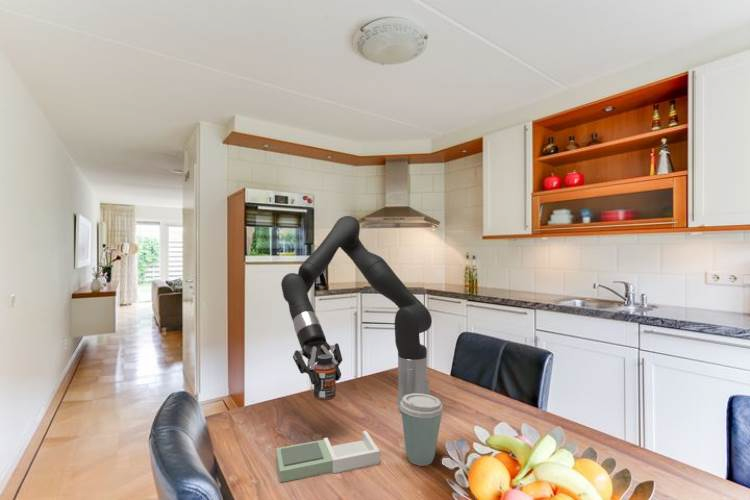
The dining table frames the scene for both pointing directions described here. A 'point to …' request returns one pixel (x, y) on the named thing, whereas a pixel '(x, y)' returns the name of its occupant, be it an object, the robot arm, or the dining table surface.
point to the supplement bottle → (325, 378)
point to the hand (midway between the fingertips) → (327, 381)
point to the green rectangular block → (303, 460)
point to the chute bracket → (353, 454)
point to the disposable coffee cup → (421, 426)
